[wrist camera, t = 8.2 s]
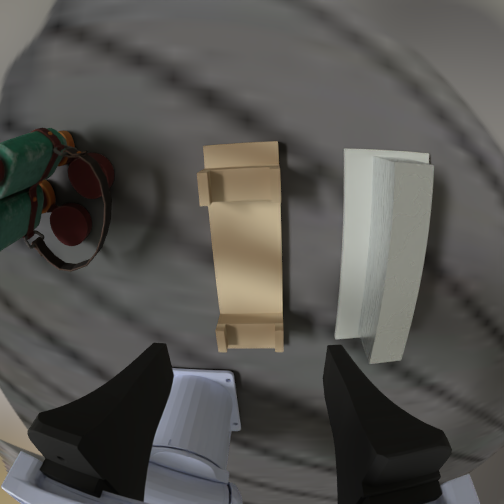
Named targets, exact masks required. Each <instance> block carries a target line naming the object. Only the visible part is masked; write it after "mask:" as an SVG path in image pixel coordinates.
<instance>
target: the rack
mask: <svg viewBox="0 0 504 504" xmlns="http://www.w3.org/2000/svg"><path fill="white" fill-rule="evenodd" d="M203 150H204V163H205V169H203V170H202V171H200V172H198V173H197V180H198V191H199V201H200V206H208V208H209V219H210V229H211V238H212V248H213V257H214V266H215V275H216V283H217V291H218V300H219V308H220V316H219V320H218V324H217V328H216V337H217V344H218V350H219V352H227V348H275V352H283V304H282V243H281V207H280V203H281V181H280V167H279V154H278V141H273V142H250V143H234V144H220V145H208V146H203Z"/></svg>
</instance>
